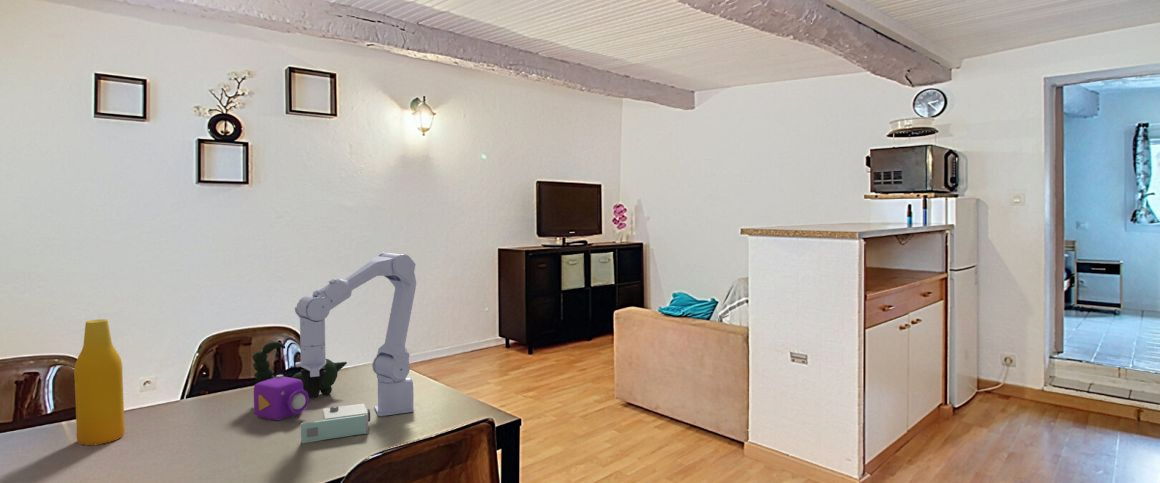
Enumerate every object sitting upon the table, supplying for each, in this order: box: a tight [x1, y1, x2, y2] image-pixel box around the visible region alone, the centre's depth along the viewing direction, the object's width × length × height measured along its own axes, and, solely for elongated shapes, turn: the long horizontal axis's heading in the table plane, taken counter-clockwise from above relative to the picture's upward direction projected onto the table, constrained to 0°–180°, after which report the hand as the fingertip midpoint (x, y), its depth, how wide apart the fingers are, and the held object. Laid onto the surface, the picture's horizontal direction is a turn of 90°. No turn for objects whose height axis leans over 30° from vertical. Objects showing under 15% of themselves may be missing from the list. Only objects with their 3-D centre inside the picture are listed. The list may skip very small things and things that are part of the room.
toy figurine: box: [252, 341, 348, 396], centre depth 181 cm, size 9×19×25 cm
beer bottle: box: [73, 318, 126, 446], centre depth 148 cm, size 9×9×29 cm
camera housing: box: [322, 402, 371, 423], centre depth 157 cm, size 11×8×6 cm
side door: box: [300, 414, 369, 444], centre depth 151 cm, size 16×1×5 cm, turn 116°
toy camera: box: [253, 374, 310, 421], centre depth 167 cm, size 11×14×10 cm
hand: (313, 397), depth 154 cm, fingers closed
